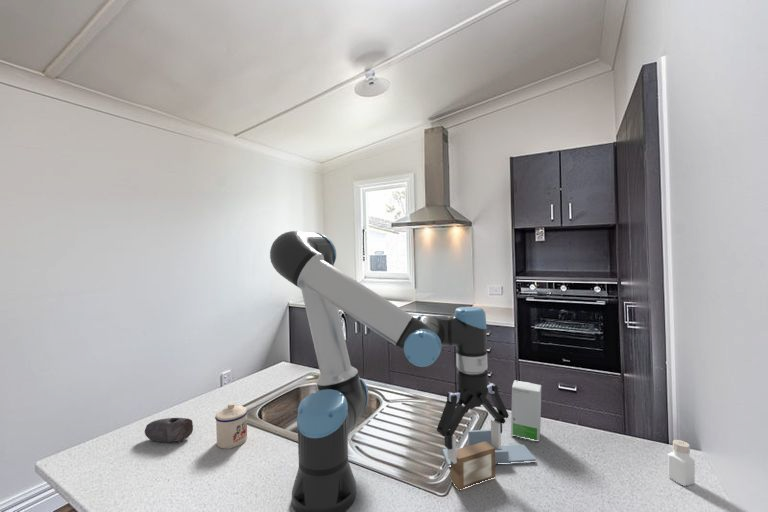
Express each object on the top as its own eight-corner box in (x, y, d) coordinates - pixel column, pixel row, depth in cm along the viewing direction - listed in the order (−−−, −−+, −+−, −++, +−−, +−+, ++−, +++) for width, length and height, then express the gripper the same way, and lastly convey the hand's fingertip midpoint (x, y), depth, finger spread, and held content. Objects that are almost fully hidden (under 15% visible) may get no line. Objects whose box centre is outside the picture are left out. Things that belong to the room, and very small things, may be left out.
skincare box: (510, 436, 109) (510, 386, 108) (513, 426, 114) (513, 379, 114) (540, 443, 105) (539, 391, 104) (541, 432, 111) (541, 383, 110)
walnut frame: (459, 491, 85) (459, 459, 85) (450, 482, 88) (450, 451, 88) (495, 479, 89) (495, 448, 89) (486, 470, 93) (485, 440, 92)
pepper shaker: (684, 487, 85) (684, 449, 85) (666, 477, 89) (666, 440, 88) (695, 484, 86) (696, 446, 86) (678, 474, 90) (678, 437, 89)
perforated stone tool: (139, 443, 109) (138, 421, 108) (152, 434, 114) (151, 413, 114) (183, 446, 107) (183, 423, 106) (195, 437, 112) (194, 415, 112)
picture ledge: (448, 467, 94) (448, 445, 94) (442, 452, 101) (442, 431, 101) (535, 462, 95) (535, 441, 95) (524, 448, 102) (523, 427, 102)
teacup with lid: (237, 450, 104) (236, 411, 103) (209, 448, 105) (208, 410, 105) (257, 429, 116) (256, 394, 115) (232, 427, 117) (231, 393, 117)
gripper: (437, 384, 80) (440, 476, 80) (521, 365, 89) (523, 447, 90) (421, 373, 87) (424, 458, 87) (500, 357, 96) (503, 433, 97)
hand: (474, 453), depth 89 cm, fingers open, 13 cm apart
